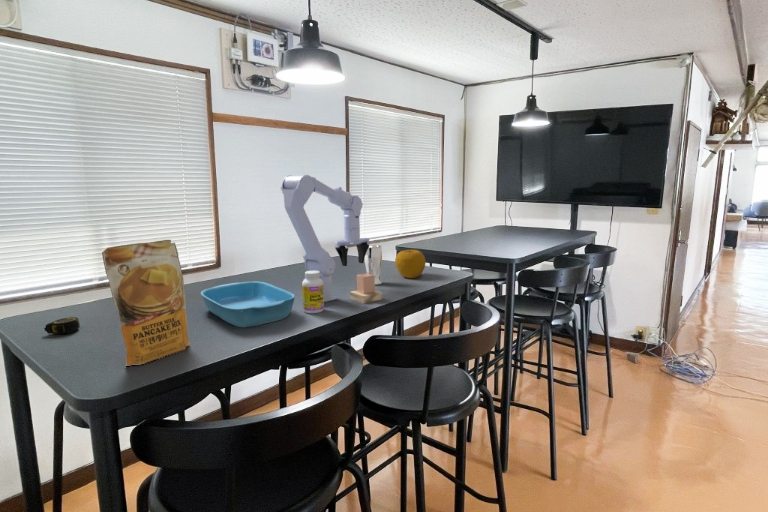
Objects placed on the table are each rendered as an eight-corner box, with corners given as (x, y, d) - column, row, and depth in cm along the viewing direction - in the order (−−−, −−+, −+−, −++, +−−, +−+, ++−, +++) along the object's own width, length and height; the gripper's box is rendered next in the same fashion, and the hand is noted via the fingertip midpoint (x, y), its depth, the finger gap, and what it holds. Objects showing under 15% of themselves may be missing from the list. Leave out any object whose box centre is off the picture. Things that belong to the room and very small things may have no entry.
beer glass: (383, 281, 185) (382, 244, 182) (381, 285, 178) (380, 247, 175) (366, 281, 185) (365, 245, 183) (363, 285, 179) (362, 247, 176)
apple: (390, 278, 189) (390, 251, 187) (401, 272, 201) (401, 246, 199) (420, 281, 184) (420, 253, 182) (429, 274, 196) (429, 248, 194)
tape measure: (66, 327, 134) (64, 315, 134) (86, 328, 133) (84, 316, 132) (45, 336, 128) (43, 323, 127) (66, 337, 126) (64, 324, 126)
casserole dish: (193, 308, 152) (191, 287, 151) (257, 296, 166) (255, 277, 165) (236, 337, 124) (234, 312, 123) (308, 320, 138) (307, 297, 137)
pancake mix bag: (109, 366, 106) (93, 247, 101) (184, 340, 122) (173, 237, 117) (124, 372, 102) (109, 250, 97) (199, 345, 118) (189, 238, 113)
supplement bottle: (308, 315, 142) (306, 275, 140) (300, 310, 147) (298, 271, 145) (327, 311, 145) (326, 272, 143) (318, 306, 151) (317, 268, 149)
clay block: (363, 294, 156) (363, 277, 155) (357, 291, 160) (356, 274, 159) (374, 292, 158) (374, 275, 157) (368, 289, 162) (367, 273, 161)
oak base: (363, 304, 154) (363, 296, 153) (350, 300, 160) (349, 291, 160) (382, 300, 159) (381, 292, 158) (368, 296, 165) (368, 287, 164)
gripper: (341, 230, 160) (342, 268, 162) (374, 227, 169) (374, 263, 172) (330, 229, 165) (332, 265, 168) (362, 225, 174) (363, 260, 177)
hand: (352, 264), depth 170 cm, fingers open, 7 cm apart
